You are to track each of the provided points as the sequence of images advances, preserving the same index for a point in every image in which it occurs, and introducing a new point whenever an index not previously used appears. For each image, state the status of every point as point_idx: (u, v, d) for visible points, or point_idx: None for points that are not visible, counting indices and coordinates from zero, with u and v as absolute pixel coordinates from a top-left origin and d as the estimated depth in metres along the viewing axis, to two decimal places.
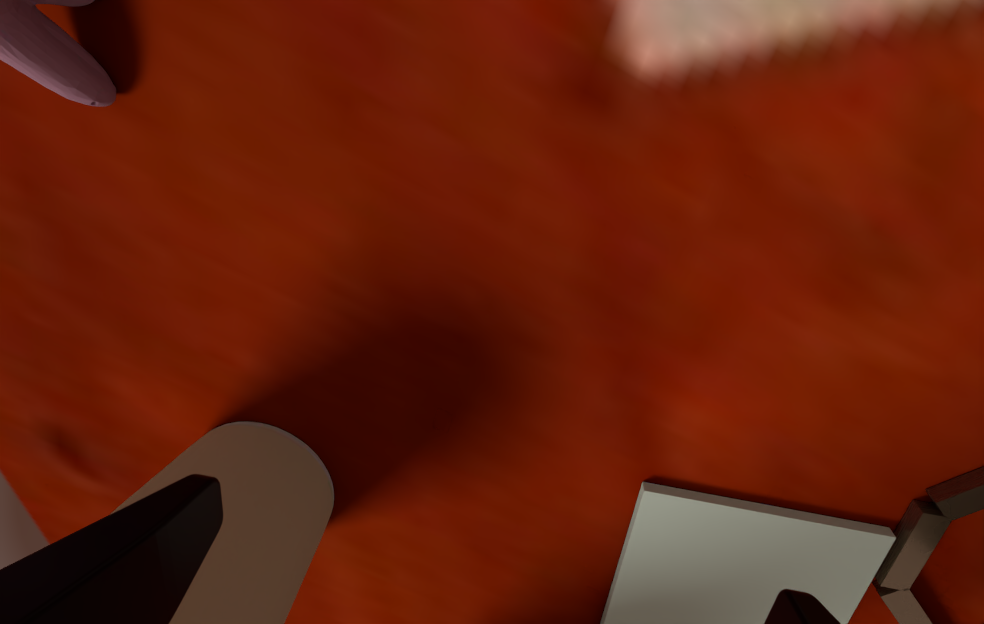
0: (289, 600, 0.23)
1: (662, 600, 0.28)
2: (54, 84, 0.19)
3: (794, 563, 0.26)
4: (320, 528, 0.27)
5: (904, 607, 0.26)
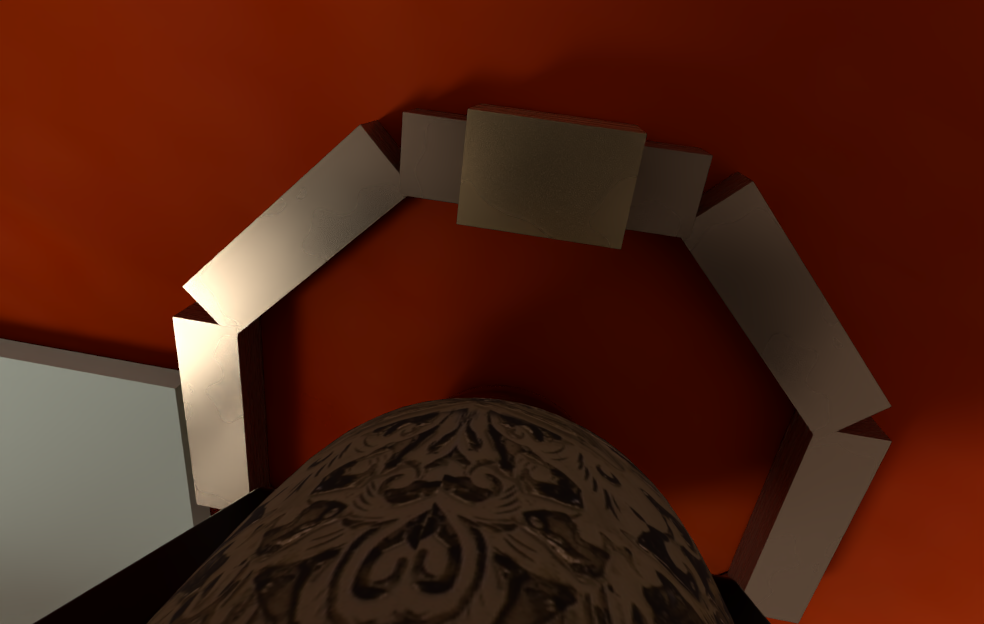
0: None
1: None
2: None
3: (35, 458, 0.12)
4: None
5: None
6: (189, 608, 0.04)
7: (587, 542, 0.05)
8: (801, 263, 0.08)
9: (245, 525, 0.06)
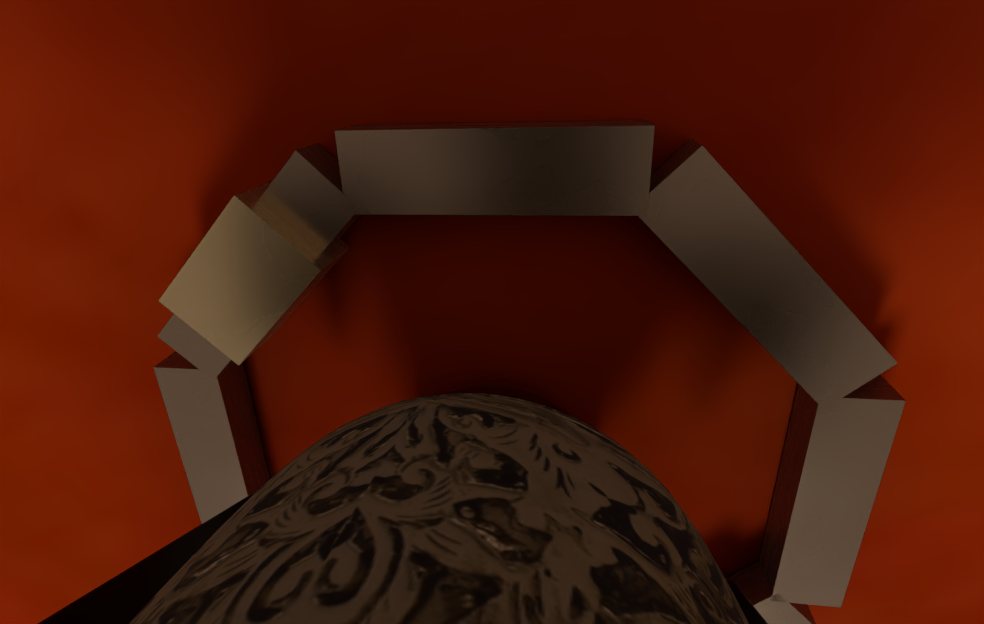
0: None
1: None
2: None
3: None
4: None
5: None
6: None
7: (526, 526, 0.04)
8: (433, 131, 0.08)
9: None
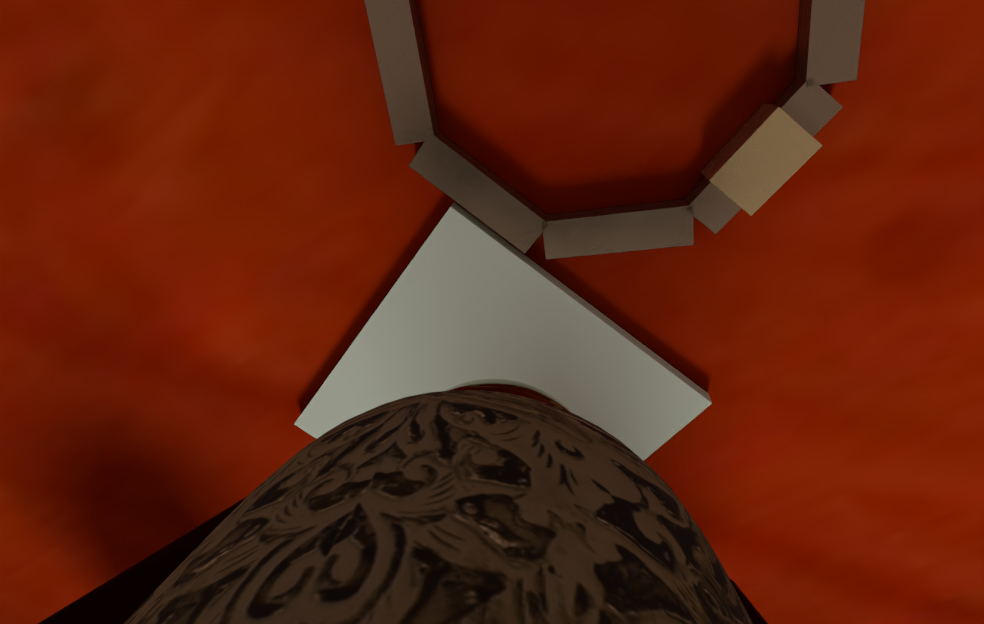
0: None
1: None
2: None
3: (452, 330, 0.19)
4: None
5: (579, 237, 0.17)
6: None
7: (529, 522, 0.04)
8: None
9: (186, 558, 0.05)
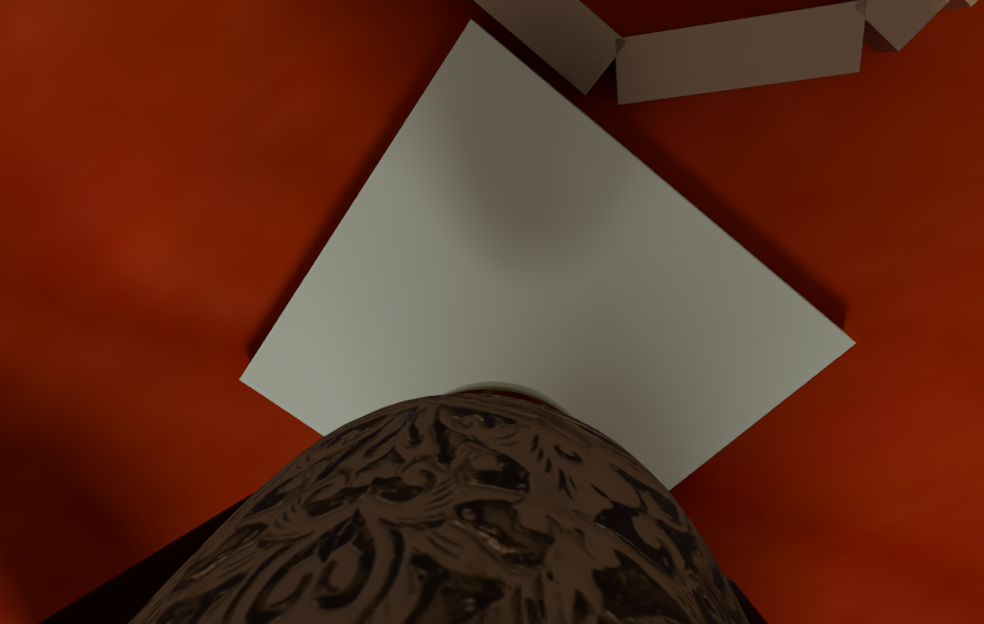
0: None
1: None
2: None
3: (468, 231, 0.13)
4: None
5: (675, 64, 0.11)
6: None
7: (528, 529, 0.04)
8: None
9: None
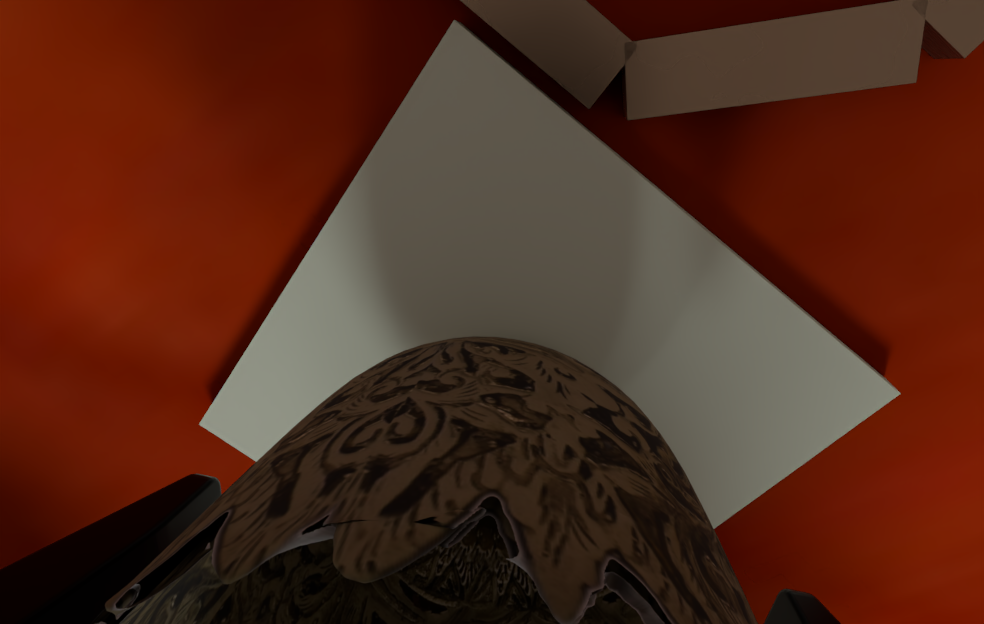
0: None
1: None
2: None
3: (454, 263, 0.11)
4: None
5: (695, 73, 0.09)
6: (226, 493, 0.06)
7: (533, 410, 0.06)
8: None
9: None
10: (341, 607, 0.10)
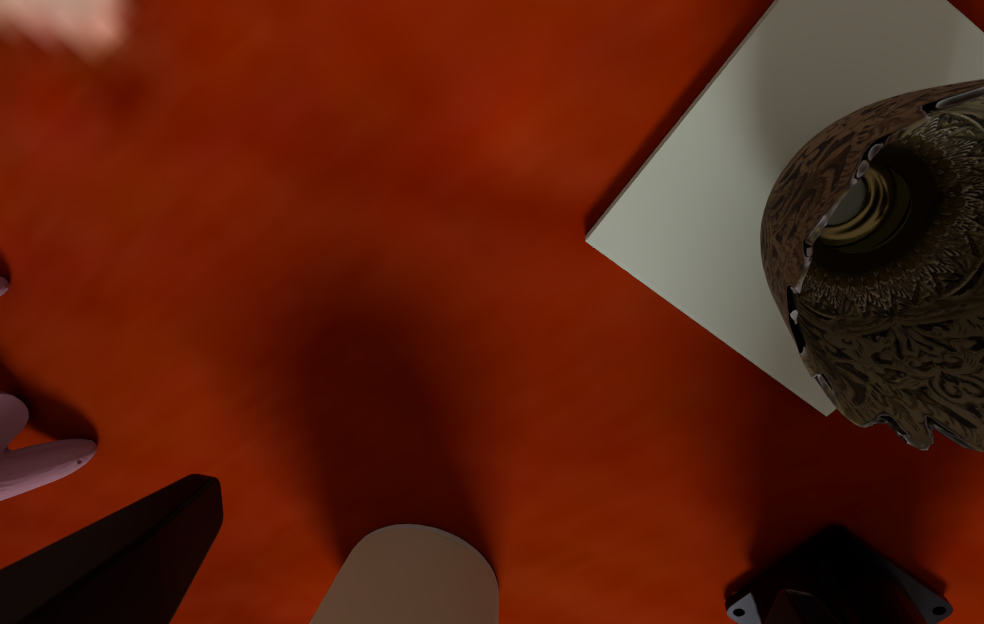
0: None
1: None
2: (44, 476, 0.25)
3: (814, 92, 0.16)
4: (454, 576, 0.24)
5: None
6: (869, 128, 0.11)
7: None
8: None
9: (826, 144, 0.12)
10: None
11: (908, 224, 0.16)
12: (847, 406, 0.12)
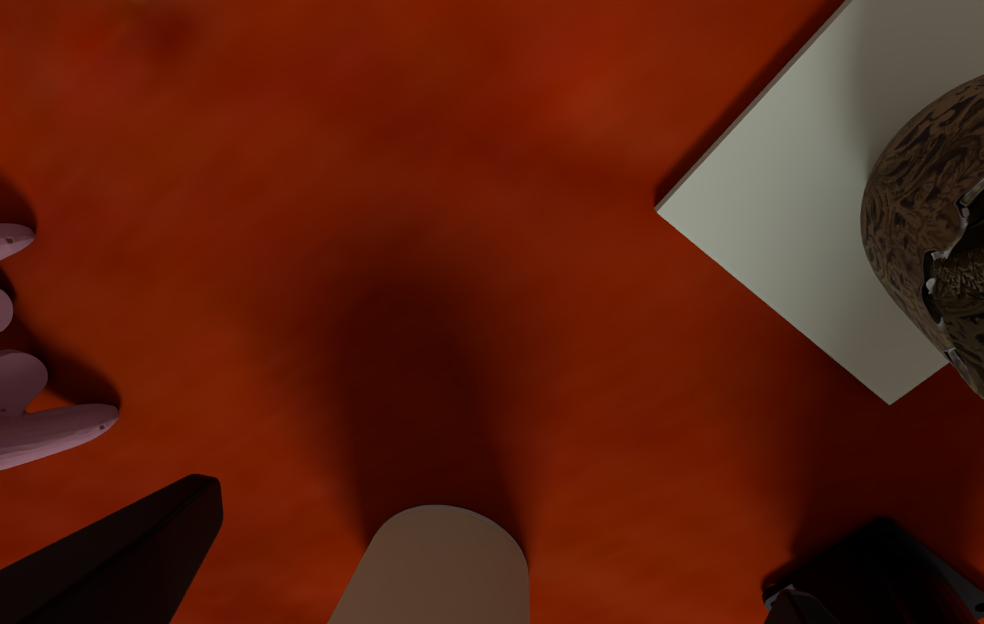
0: None
1: (859, 278, 0.18)
2: (66, 440, 0.23)
3: (915, 61, 0.16)
4: (490, 559, 0.23)
5: None
6: None
7: None
8: None
9: (964, 104, 0.11)
10: None
11: None
12: (979, 383, 0.11)
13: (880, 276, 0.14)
